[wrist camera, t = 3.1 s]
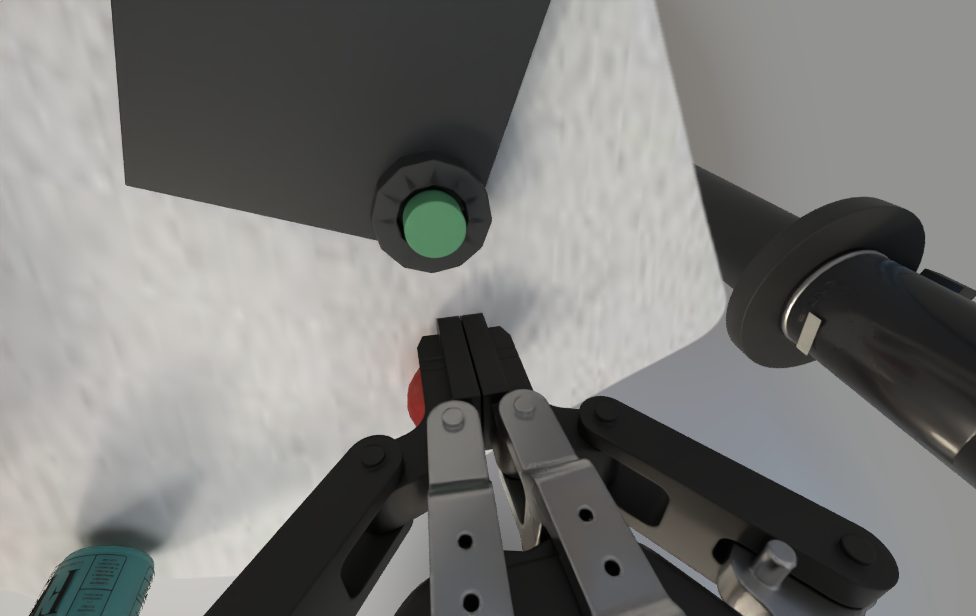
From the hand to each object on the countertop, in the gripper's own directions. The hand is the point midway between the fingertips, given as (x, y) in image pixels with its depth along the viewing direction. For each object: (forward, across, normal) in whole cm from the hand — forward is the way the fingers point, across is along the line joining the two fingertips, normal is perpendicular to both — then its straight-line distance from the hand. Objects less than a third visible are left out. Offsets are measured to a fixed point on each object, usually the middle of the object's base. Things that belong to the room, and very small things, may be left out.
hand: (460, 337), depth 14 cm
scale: (+13, -3, +6) cm, 14 cm away
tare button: (+10, 0, 0) cm, 10 cm away
